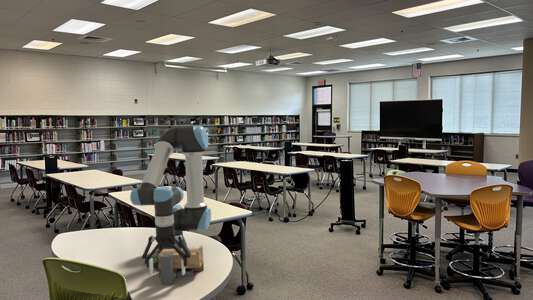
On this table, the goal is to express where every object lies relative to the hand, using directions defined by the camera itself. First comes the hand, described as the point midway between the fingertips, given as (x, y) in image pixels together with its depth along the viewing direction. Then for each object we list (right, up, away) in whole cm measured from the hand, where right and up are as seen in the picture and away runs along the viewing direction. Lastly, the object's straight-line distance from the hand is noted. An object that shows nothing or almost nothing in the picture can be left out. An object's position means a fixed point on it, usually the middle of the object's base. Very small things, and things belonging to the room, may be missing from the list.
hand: (167, 274), depth 163 cm
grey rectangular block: (0, -3, +5) cm, 6 cm away
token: (+6, -3, +9) cm, 11 cm away
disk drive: (-8, -3, +22) cm, 24 cm away
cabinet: (+4, -3, +10) cm, 11 cm away
